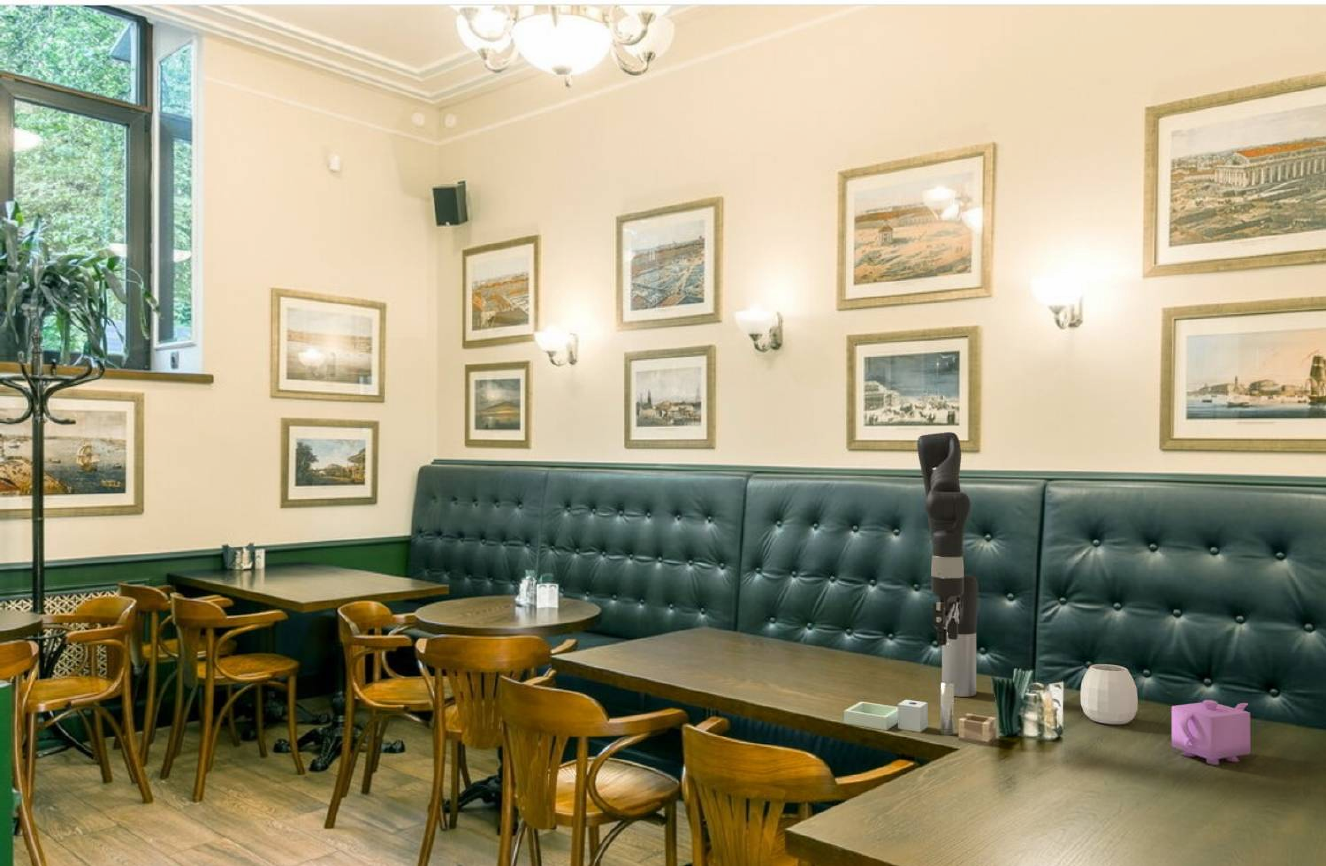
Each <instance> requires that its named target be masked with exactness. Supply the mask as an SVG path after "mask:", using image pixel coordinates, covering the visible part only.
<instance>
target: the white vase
mask: <svg viewBox="0 0 1326 866" xmlns="http://www.w3.org/2000/svg"><path fill="white" fill-rule="evenodd" d="M1138 699H1139V698H1138V689H1137V686H1136V682H1135V680H1134V678H1133V676H1132V674H1131V673H1130V671H1129V670H1128V668H1126V667H1125V666H1121V665H1115V664H1105V663H1098V664H1092V665H1090V666H1089V667H1088V668H1087V671H1086V672H1085V674H1084V676H1083V678H1082V680H1081V685H1080V705H1081V708H1082V710H1083V713H1084V715H1086V717H1088V719H1090V720H1092V721H1093V722H1098V723H1102V724H1105V725H1106V724H1107V725H1125V724H1128V723H1129V722H1131V721H1132V720H1133V719H1134V718H1135V716H1136V714H1137V711H1138V708H1139V707H1138V706H1139V705H1138V704H1139V702H1138Z"/></svg>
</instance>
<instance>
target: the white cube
mask: <svg viewBox="0 0 1326 866" xmlns="http://www.w3.org/2000/svg"><path fill="white" fill-rule="evenodd" d="M897 707H898V723H897V729H899V730H903V731H905V730H906V731H912V732H917V733H921V732H922V731H924V730H925V729H927V728H928V702H925V701H918V700H911V699H904V700H903V701H901V702H899V703H898V705H897Z"/></svg>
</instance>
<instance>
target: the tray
mask: <svg viewBox="0 0 1326 866" xmlns="http://www.w3.org/2000/svg"><path fill="white" fill-rule="evenodd" d="M843 724H847V725H853V726H858V727H864V728H870V729H875V730H877V729H878V730H882V731H883V730H884V731H888V730H889V729H890V728H892V727H894V726H896V725H898V706H894V705H886V704H880V703H875V702H874V703H873V702H867V701H859V702H857V703H855V704H854V705H851V706H850V707H848V708H847V709H844V711H843Z"/></svg>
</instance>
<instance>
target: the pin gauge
mask: <svg viewBox="0 0 1326 866" xmlns="http://www.w3.org/2000/svg"><path fill="white" fill-rule="evenodd" d="M954 697H955V696H954V683H952V682H942V681H941V682H940V734H942V735H945V736H952V735H954V733H955V732H954V729H955V728H954V724H955V723H954V721H955V718H954V717H955V713H954V709H955V708H954V707H955V705H954V704H955V701H954Z"/></svg>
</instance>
